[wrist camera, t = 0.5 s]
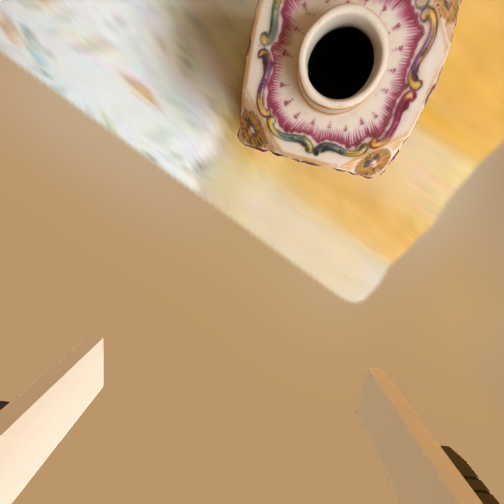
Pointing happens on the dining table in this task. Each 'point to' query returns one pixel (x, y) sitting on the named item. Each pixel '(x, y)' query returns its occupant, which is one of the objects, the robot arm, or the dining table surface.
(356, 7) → the decorative jar
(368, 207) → the dining table surface
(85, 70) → the dining table surface
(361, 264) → the dining table surface
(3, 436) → the robot arm
